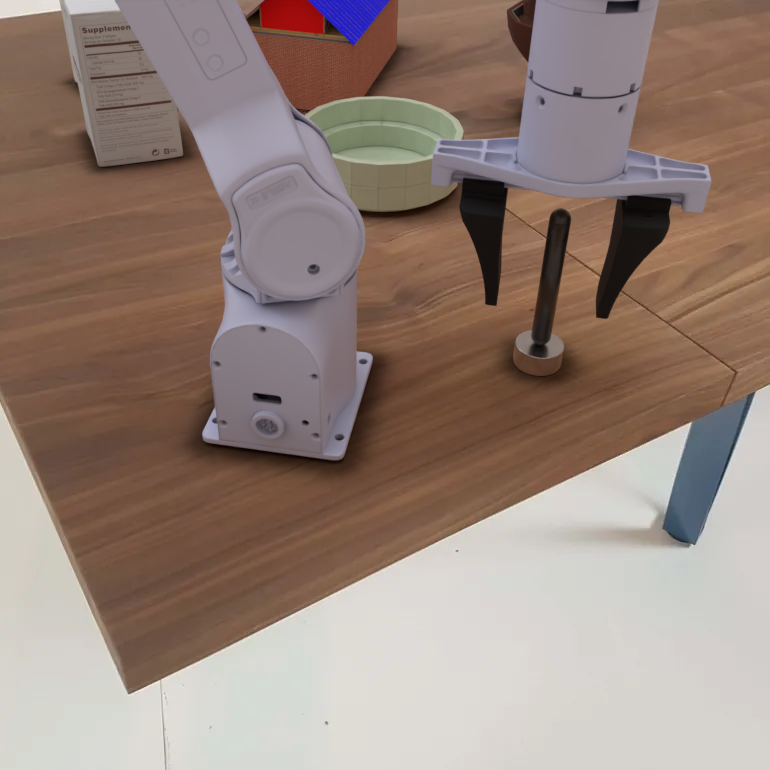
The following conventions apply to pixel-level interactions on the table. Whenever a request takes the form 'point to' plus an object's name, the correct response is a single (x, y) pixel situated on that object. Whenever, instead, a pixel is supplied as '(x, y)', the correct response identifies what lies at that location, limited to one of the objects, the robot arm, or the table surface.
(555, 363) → the pen in desk stand
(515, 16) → the ice cream bowl
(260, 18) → the house
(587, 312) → the table surface
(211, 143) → the robot arm
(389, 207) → the bowl
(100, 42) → the white packaging box
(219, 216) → the table surface
